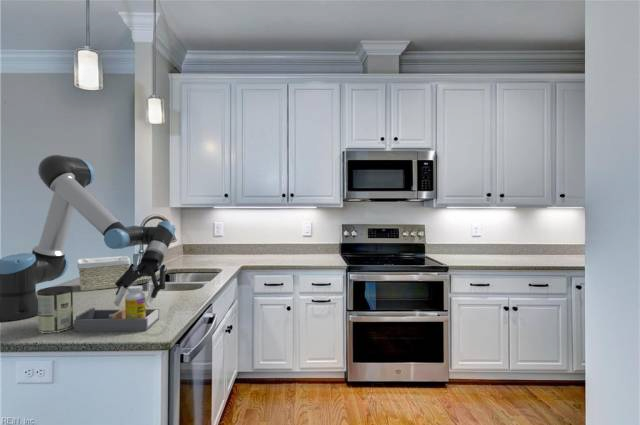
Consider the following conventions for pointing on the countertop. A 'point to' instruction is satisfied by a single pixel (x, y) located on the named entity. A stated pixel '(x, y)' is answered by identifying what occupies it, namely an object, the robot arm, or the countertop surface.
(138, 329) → the grey shallow box
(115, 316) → the lane pusher
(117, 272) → the storage basket
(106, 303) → the countertop surface
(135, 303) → the supplement bottle
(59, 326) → the coffee can
